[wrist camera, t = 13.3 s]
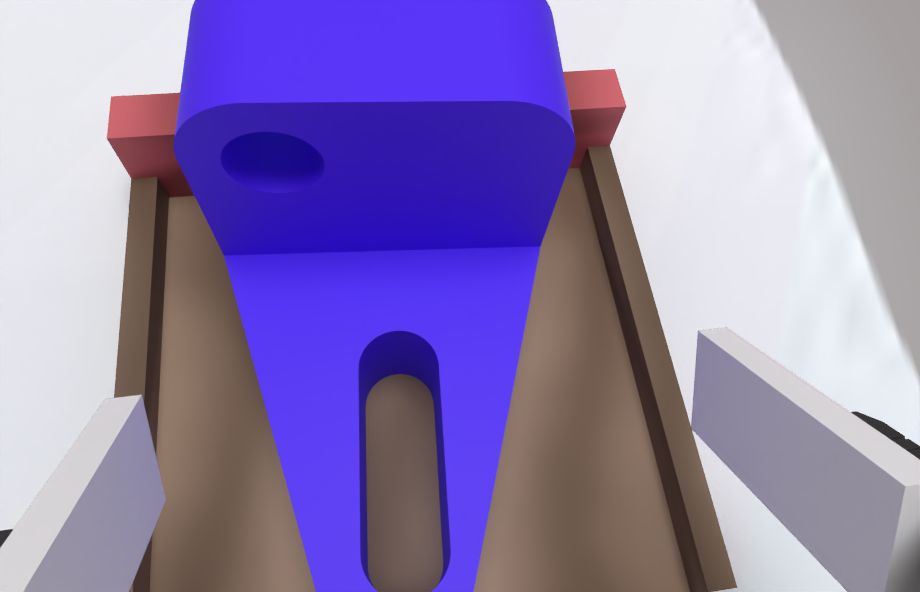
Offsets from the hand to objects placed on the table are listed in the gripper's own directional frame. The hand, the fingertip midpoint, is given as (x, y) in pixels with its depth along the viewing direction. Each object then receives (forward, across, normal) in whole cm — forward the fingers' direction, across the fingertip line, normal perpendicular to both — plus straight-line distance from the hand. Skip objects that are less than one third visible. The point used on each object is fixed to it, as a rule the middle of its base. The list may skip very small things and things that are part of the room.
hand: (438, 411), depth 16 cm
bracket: (+9, -1, -5) cm, 10 cm away
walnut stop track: (+11, 0, -4) cm, 11 cm away
